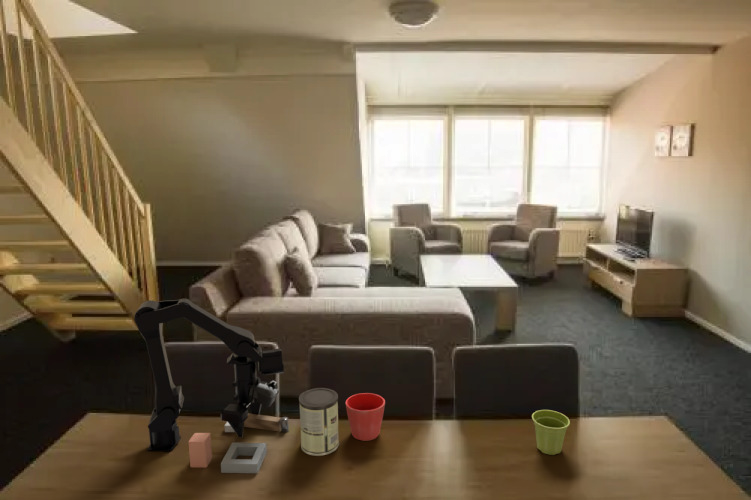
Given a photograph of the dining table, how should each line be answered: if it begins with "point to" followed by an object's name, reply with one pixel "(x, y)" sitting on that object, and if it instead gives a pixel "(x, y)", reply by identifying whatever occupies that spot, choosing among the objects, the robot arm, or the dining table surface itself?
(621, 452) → the dining table surface
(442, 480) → the dining table surface
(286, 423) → the pivot pin
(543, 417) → the plant pot
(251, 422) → the leg bar
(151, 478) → the dining table surface
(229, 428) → the stop block
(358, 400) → the flower pot
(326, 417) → the coffee can
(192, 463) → the leg peg
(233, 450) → the socket
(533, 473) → the dining table surface
